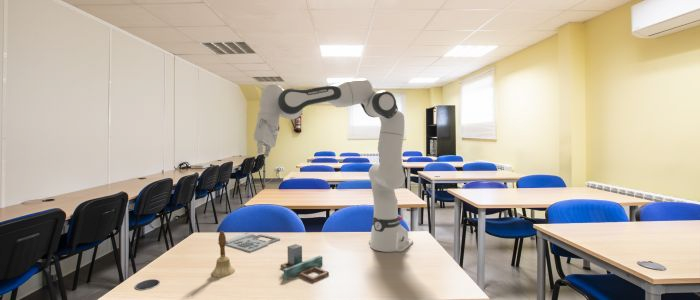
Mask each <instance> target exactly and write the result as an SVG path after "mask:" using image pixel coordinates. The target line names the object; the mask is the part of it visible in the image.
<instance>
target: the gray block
mask: <svg viewBox="0 0 700 300" xmlns="http://www.w3.org/2000/svg"><path fill="white" fill-rule="evenodd" d="M302 261H303V245H299V244H297V243H295V244H291V245H287V262H288V267H291V266H293V265H296V264H299V263H301V262H302Z"/></svg>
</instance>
